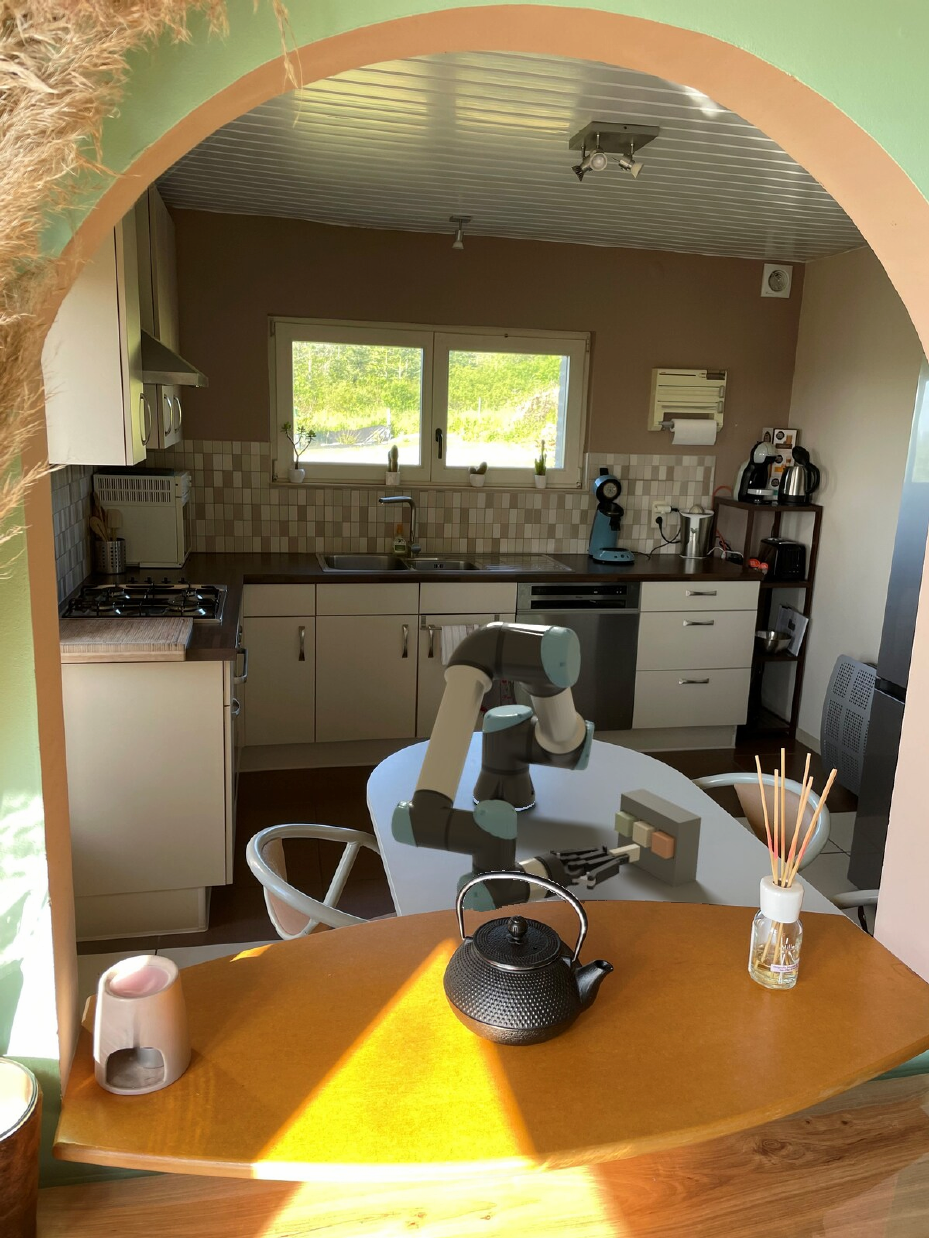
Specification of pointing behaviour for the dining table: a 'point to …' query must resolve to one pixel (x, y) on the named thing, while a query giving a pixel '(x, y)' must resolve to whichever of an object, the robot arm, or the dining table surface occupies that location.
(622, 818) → the sage key
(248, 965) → the dining table surface
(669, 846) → the terracotta key
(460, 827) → the robot arm
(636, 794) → the keypad
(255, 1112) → the dining table surface
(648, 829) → the cream key
